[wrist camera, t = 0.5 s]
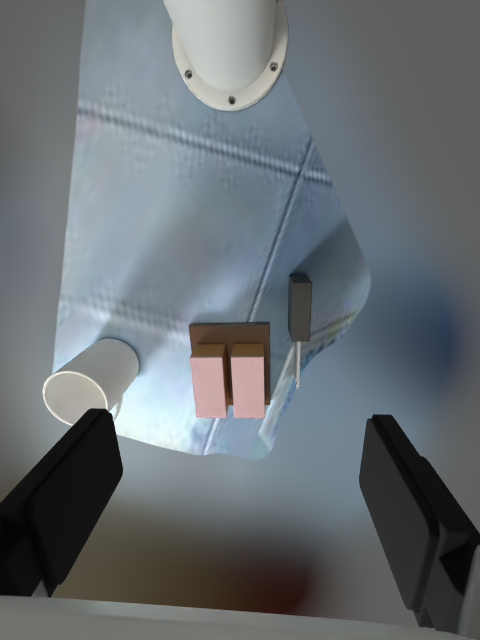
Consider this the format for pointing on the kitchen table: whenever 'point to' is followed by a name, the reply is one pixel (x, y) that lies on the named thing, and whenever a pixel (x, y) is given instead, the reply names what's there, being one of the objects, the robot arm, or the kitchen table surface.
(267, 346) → the cake board
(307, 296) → the dark block with blade
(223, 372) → the block
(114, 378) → the mug
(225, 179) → the kitchen table surface
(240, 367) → the cake slice
